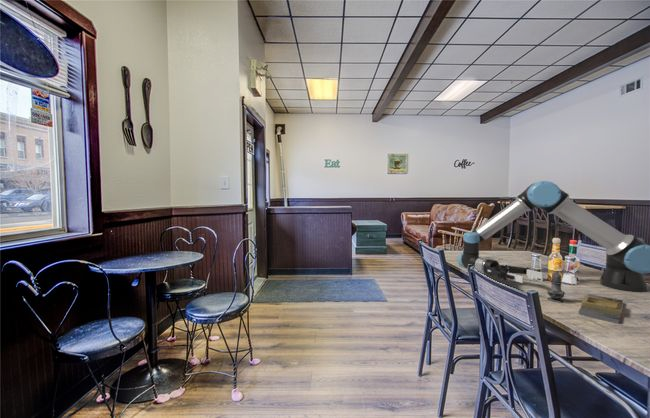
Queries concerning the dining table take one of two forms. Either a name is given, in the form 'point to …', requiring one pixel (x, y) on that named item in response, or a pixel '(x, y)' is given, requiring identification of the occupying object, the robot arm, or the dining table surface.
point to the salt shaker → (556, 289)
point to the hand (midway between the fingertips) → (533, 277)
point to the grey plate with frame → (601, 308)
